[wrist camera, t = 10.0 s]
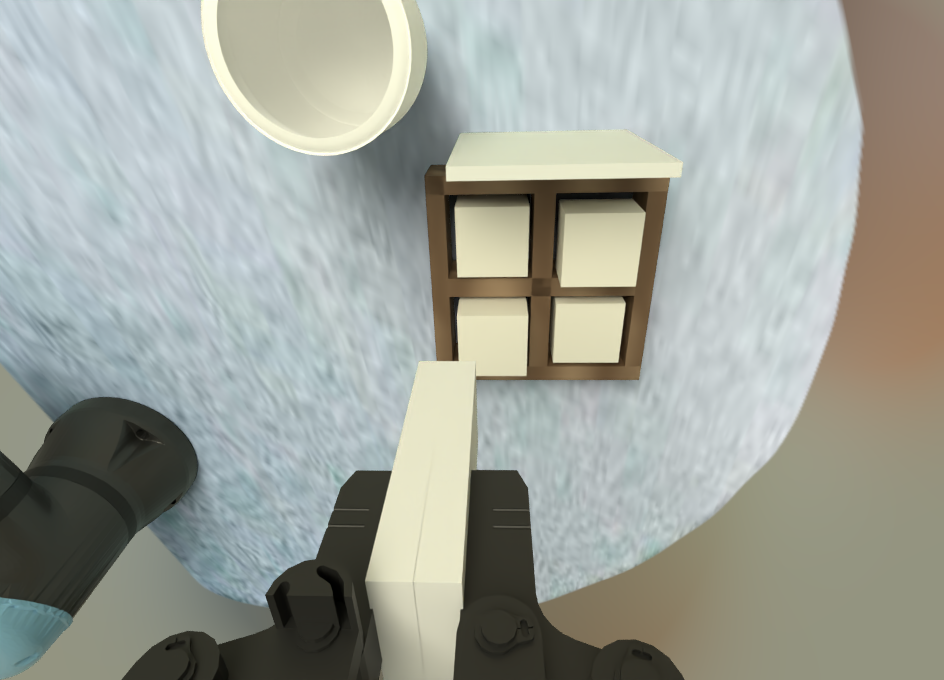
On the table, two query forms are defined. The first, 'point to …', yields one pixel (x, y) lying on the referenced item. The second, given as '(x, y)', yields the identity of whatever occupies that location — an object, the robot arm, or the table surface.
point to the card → (558, 156)
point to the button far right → (586, 328)
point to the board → (543, 271)
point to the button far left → (494, 334)
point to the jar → (317, 67)
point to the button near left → (492, 235)
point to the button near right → (599, 242)
